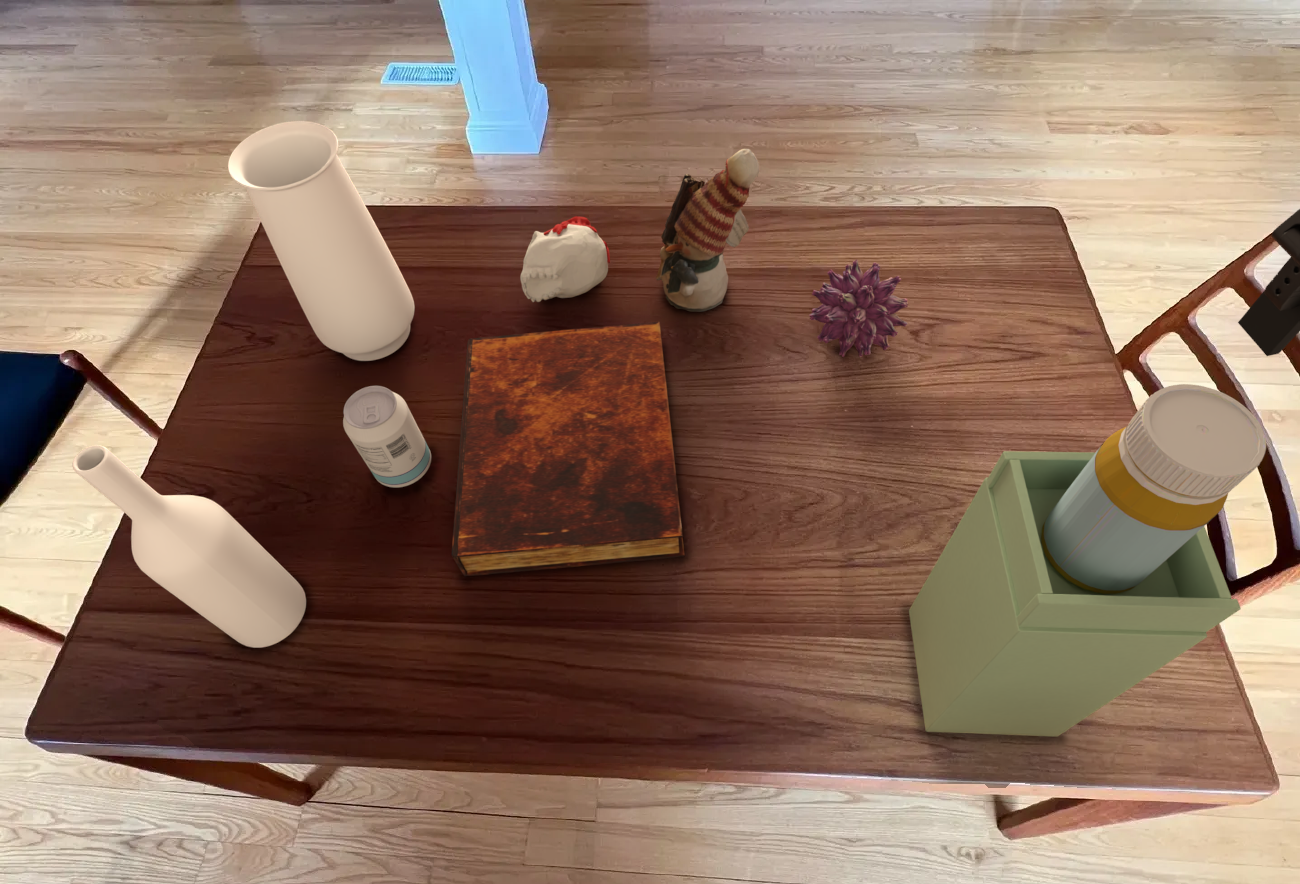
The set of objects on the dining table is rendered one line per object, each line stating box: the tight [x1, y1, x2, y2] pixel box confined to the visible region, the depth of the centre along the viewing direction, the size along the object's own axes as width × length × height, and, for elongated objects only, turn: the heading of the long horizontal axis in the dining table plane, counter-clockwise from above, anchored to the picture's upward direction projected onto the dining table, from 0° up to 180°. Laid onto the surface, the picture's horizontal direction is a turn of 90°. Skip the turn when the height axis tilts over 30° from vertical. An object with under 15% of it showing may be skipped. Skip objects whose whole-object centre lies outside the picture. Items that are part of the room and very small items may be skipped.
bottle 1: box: [71, 444, 307, 649], centre depth 72 cm, size 8×8×30 cm
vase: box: [227, 120, 416, 362], centre depth 94 cm, size 13×13×28 cm
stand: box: [908, 450, 1242, 738], centre depth 64 cm, size 12×12×30 cm
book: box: [451, 321, 686, 577], centre depth 91 cm, size 30×24×5 cm
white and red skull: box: [519, 215, 611, 303], centre depth 106 cm, size 9×11×15 cm
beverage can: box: [342, 385, 432, 488], centre depth 89 cm, size 7×7×12 cm
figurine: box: [655, 148, 760, 313], centre depth 99 cm, size 13×12×20 cm
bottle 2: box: [1041, 383, 1267, 594], centre depth 49 cm, size 7×7×15 cm
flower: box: [808, 259, 909, 358], centre depth 96 cm, size 12×12×12 cm
